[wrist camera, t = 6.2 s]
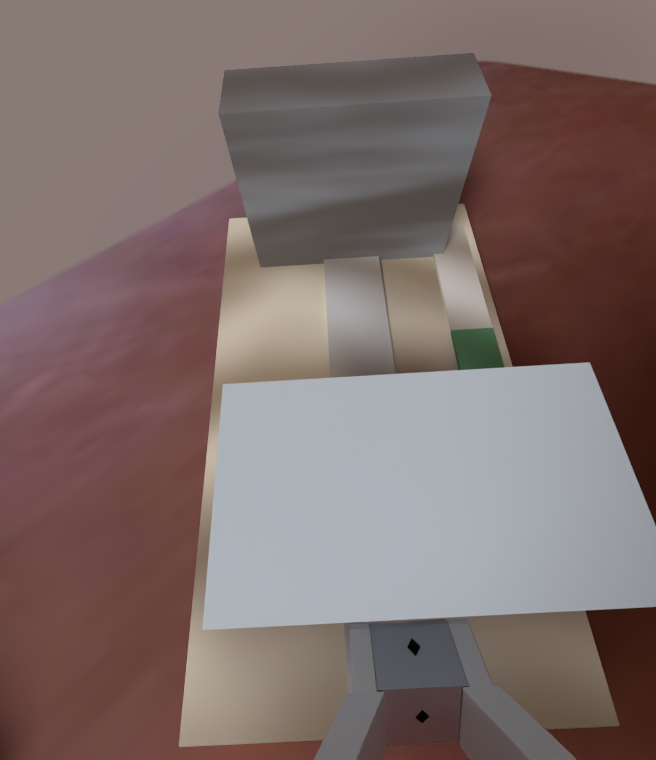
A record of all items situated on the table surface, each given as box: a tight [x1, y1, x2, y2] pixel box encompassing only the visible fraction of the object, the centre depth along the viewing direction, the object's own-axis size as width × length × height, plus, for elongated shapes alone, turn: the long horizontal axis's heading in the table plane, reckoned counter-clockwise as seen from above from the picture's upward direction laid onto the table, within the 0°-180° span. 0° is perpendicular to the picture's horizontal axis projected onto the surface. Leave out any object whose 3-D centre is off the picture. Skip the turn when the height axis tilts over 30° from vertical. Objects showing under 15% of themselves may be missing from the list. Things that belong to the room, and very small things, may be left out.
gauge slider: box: [202, 362, 656, 630], centre depth 11 cm, size 6×11×9 cm, turn 93°
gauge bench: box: [179, 53, 620, 747], centre depth 15 cm, size 24×14×10 cm, turn 3°
